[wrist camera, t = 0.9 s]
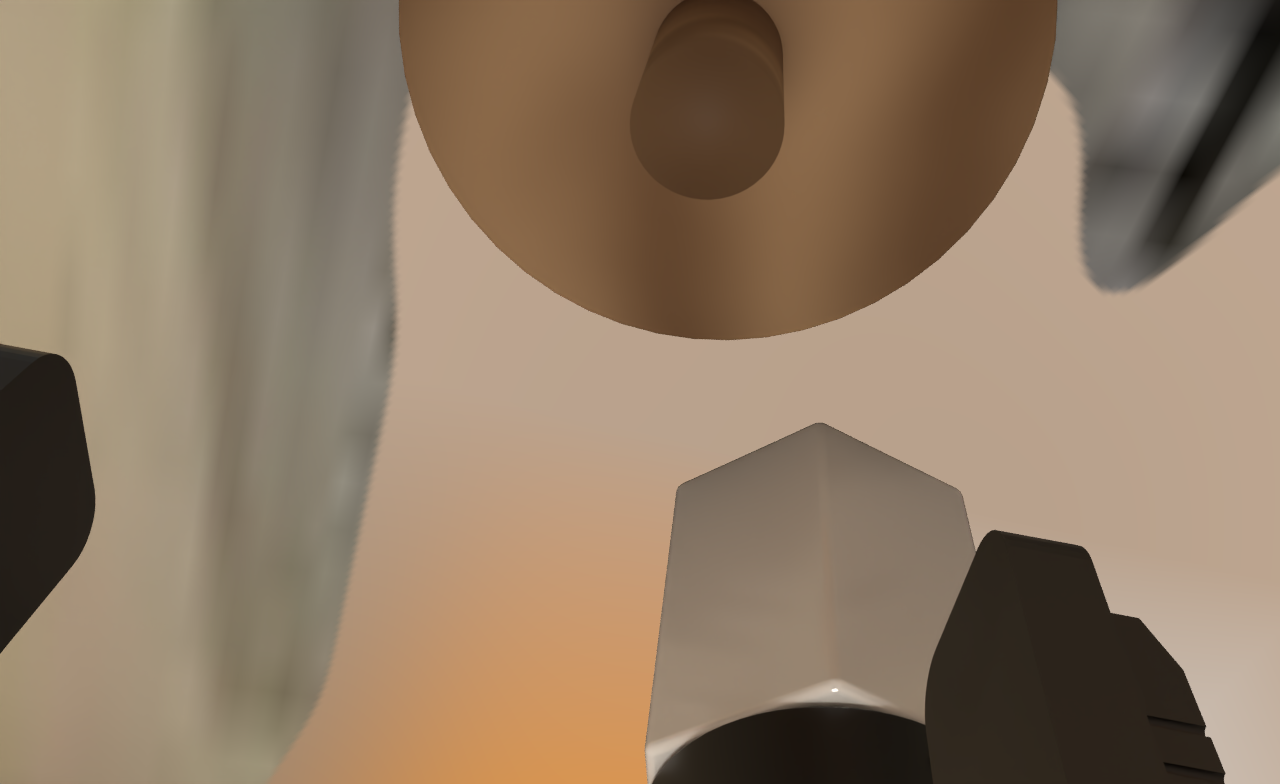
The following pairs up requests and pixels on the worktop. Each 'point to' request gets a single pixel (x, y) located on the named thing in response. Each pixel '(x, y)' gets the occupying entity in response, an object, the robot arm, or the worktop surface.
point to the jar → (804, 617)
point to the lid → (726, 144)
